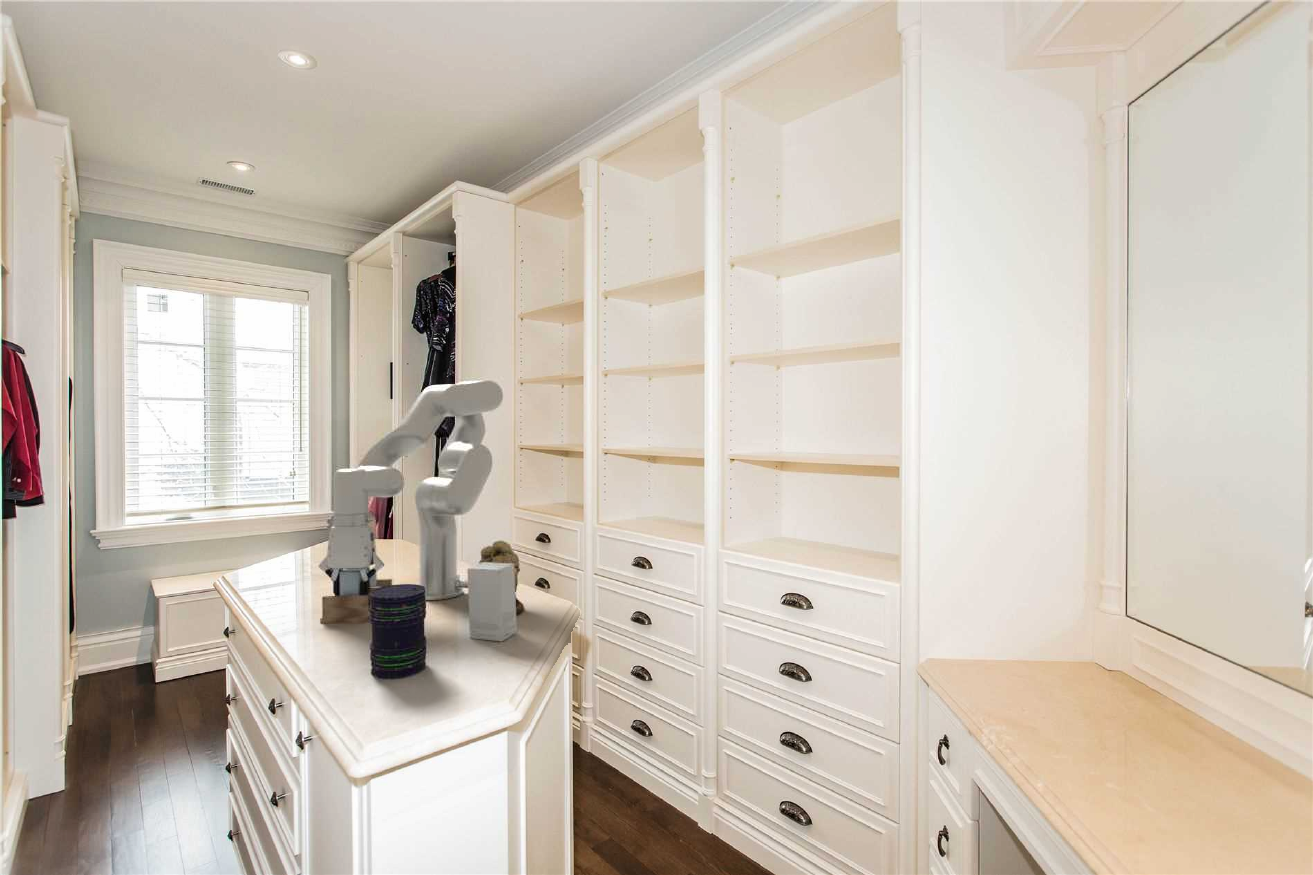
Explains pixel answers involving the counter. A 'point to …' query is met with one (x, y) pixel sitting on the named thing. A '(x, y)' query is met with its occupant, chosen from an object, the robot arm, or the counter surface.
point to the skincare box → (492, 601)
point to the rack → (349, 606)
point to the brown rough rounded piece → (503, 554)
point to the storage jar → (397, 631)
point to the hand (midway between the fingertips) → (351, 595)
